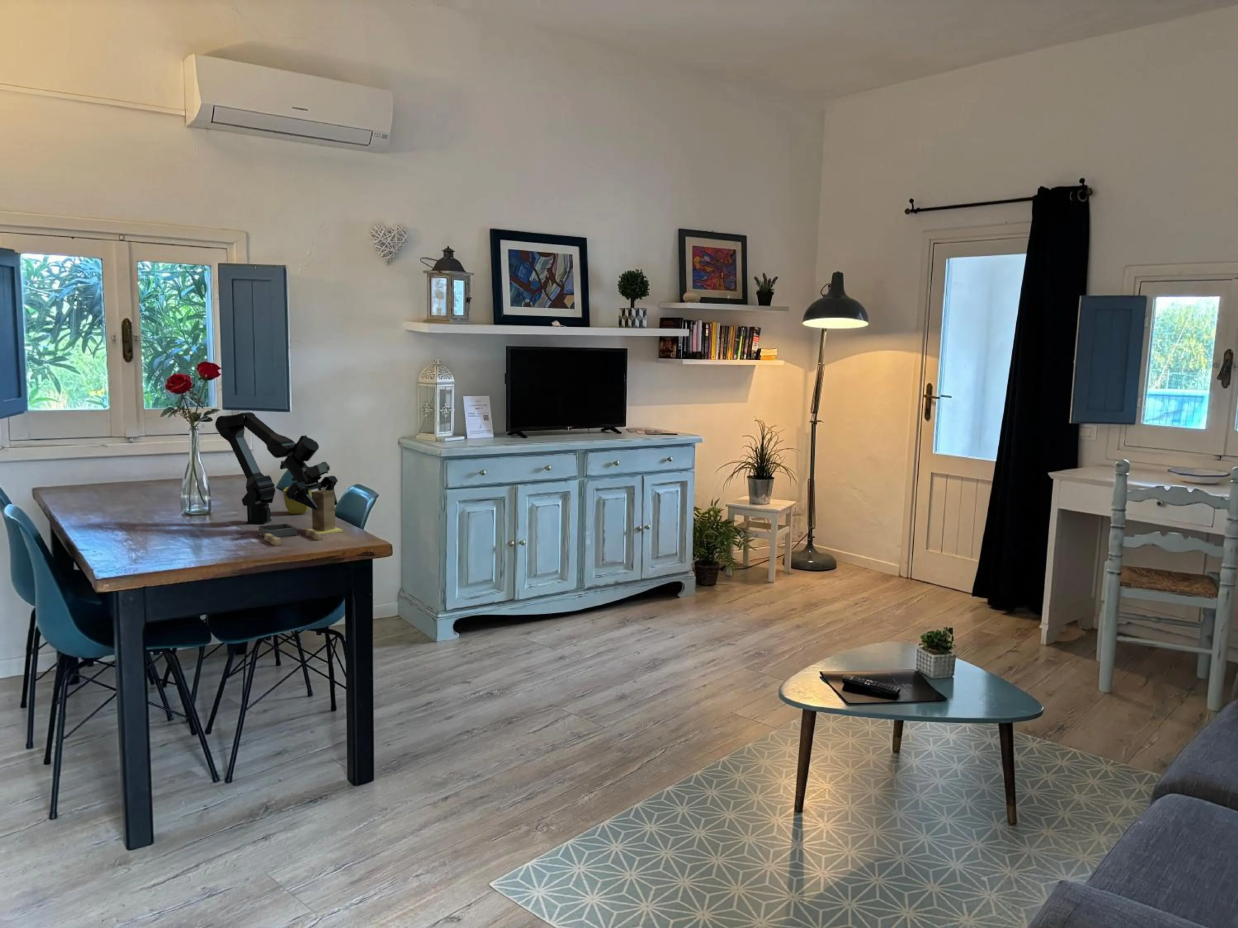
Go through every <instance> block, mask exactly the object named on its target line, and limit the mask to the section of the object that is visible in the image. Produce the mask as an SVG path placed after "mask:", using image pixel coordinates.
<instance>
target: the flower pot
mask: <svg viewBox="0 0 1238 928" xmlns="http://www.w3.org/2000/svg"><path fill="white" fill-rule="evenodd" d="M289 487H290V486H286V487H285V488H284V489H283V490H282V492H283V500H284V504H285V507H286V509H287V511H288V513H289V514H290V515H294V514H295V515H301V514H302V515H304V514H306V513H307V511H308V510H309V508H310V507H308V506H306V505H304V504H302V503H299V502H297V501H293V500H292V499H291V500H289V499H288V498H287V496H286V491H287V489H288V488H289ZM311 492H313V491H312V490H309V495H310V496H311V497H312V494H311Z"/></svg>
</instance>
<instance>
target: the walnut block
mask: <svg viewBox="0 0 1238 928" xmlns="http://www.w3.org/2000/svg"><path fill="white" fill-rule="evenodd" d="M334 492H335V490H334V491H330V490H314V491H312V492H311V498H312V499H313V501H314V502H315V504H316V505H317V507H318V508H317V510H314V509H312V508H311V520H312V522H311V523H312V524H311V525H312V527H311V528H313V530H317V531H328V530H332V529H335V527H336V505H335V497H334Z"/></svg>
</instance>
